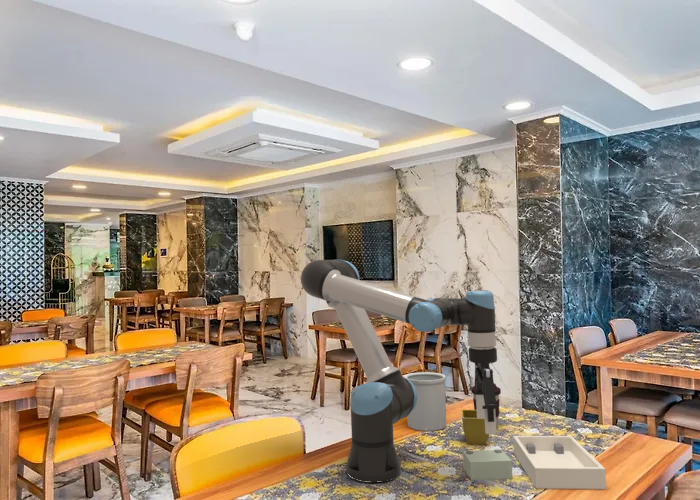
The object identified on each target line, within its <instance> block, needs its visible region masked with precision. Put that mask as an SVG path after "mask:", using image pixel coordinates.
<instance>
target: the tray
mask: <svg viewBox="0 0 700 500" xmlns="http://www.w3.org/2000/svg"><path fill="white" fill-rule="evenodd" d="M512 442H513V443H512V444H513V445H512V446H513V454H514V455H515V457H516V459H517V460H518V462H519V464H520V466H521V467H522V468H523V470H524V471H525V473H526V475H527V477H528V478H529V480H530V481H531V483H532V484H533V486H534V488H535V489H558V490H559V489H561V490H562V489H564V490H566V489H567V490H569V489H570V490H572V489H573V490H574V489H575V490H607V479H606V478H607V477H606V468H605V467H604V466H603V465H602V464H601V463H600V462H599V461H598V460H597V459H596V458H595V457H594V456H593V455H592V454H591V453H589V452H588V450H586V448H584V446H582V444H581V443H579V442H578V441H577V440H576V439H575V438H574V437H573V436H572V435H513V436H512Z"/></svg>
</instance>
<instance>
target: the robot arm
mask: <svg viewBox="0 0 700 500" xmlns="http://www.w3.org/2000/svg"><path fill="white" fill-rule="evenodd" d="M300 284H301V287H302V288H303V290H304V291H305V292H306V293H307V295H310V296H312V297H313V298H317V299H320V300H324V301H325V302H326V304H327V306H328V307H329V308H332V309H334V310H335V312H336V315H337V317H338V319H339V320H340V322H341V325H342V327H343V329H344V331H345V333H346V335H347V337H348V340H349V342H350V344H351V347H352V348H353V350H354V353H355V355H356V357H357V359H358V361H359V363H360V366H361V367H362V370H363V372H364V374H365V377H366V382H365V383H363V384H360V385H358V386H356V387H354V388H353V390H352V391H351V394H350V402H349V406H350V424H351V425H350V426H351V447H350V449H349V453H348V457H347V460H346V465H345V467H346V471H347V472H346V474H347V473H348V474H349V475H350V476H351V477H353V478H355V479H358V480H362V481H371V482H377V481H387V480H390V481H392V480H391V479H393V478H395V479H397V478H398V477H399V476H400V475H401V472H402V470H401V469H402V466H401V461H400V458H399V455H398V453H397V450H396V446H395V444H394V442H395V441H394V425H395V424H396V423H398V422H400V421H401V420H403V419H404V418H407V416H408V415H409V414H410V413H411V412H412V411H413V410H414V408H415V406H416V403H417V391H416V388H415V386H414V385H413V383H412V382H411V381H410V380H409V379H406V378H405V377H404V376H403V374H402V372H401V370H400V368H399V367H396V366H394V365H392V363H391V360H390V358H389V357H388V354H387V353H386V350H385V348H384V346H383V343H382V342H381V340H380V339H379V336H378V334H377V331H376V330H375V328H374V325H373V323H372V322H371V320H370V317H369V315H368V314H367V311H369V312H371V313H375V314H378V315H380V316H384V317H387V318H390V319H393V320H396V321H400V322H402V323H406V324H408V325H411V326H412V327H413V329H415V330H416V331H418V332H424V333H425V332H427V333H428V332H432V331H434V330H437V329H440V328H442V327H446V326H451V325H452V326H467V328H466V329H467V345H468V346H469V348H468V360H469V362H470V363H473V364H474V389H475V393H476V394H477V395H476V409H477V418H485V433H486V434H489V435H495V434H496V435H497V429H496V414H495V408H497V404H496V397H495V389H494V375H493V374H494V370H493V368H491V367H490V364H493V363H497V361H498V353H497V352H498V351H497V348H496V346H497V340H496V339H498V338H499V335H498V334H497V333H496V314H495V313H496V306H495V299H494V293H493V292H492V291H490V290H471V291H470V290H469V291H467V292H466V293H465V297H463V298H454V297H453V298H452V297H451V298H450V297H448V298H447V297H444V298H443V297H442V298H441V297H434V298H428V299H424V298H420V297H416V296H415V295H411V294H407V293H404V292H400V291H398V290H395V289H390V288H387V287H384V286H382V285H381V286H380V285H376V284H374V283H370V282H367V281H363V280H360V274H359V271H358V269H357V267H356V266H355V265H354V264H353V263H352V262H349V261H347V260H343V259H337V258H336V259H315V260H313V261H310V262H309V263H308V264H306V265H305V267H303V269H302V272H301V274H300ZM397 476H398V477H397ZM396 477H397V478H396ZM393 480H394V479H393ZM387 482H388V481H387Z"/></svg>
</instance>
